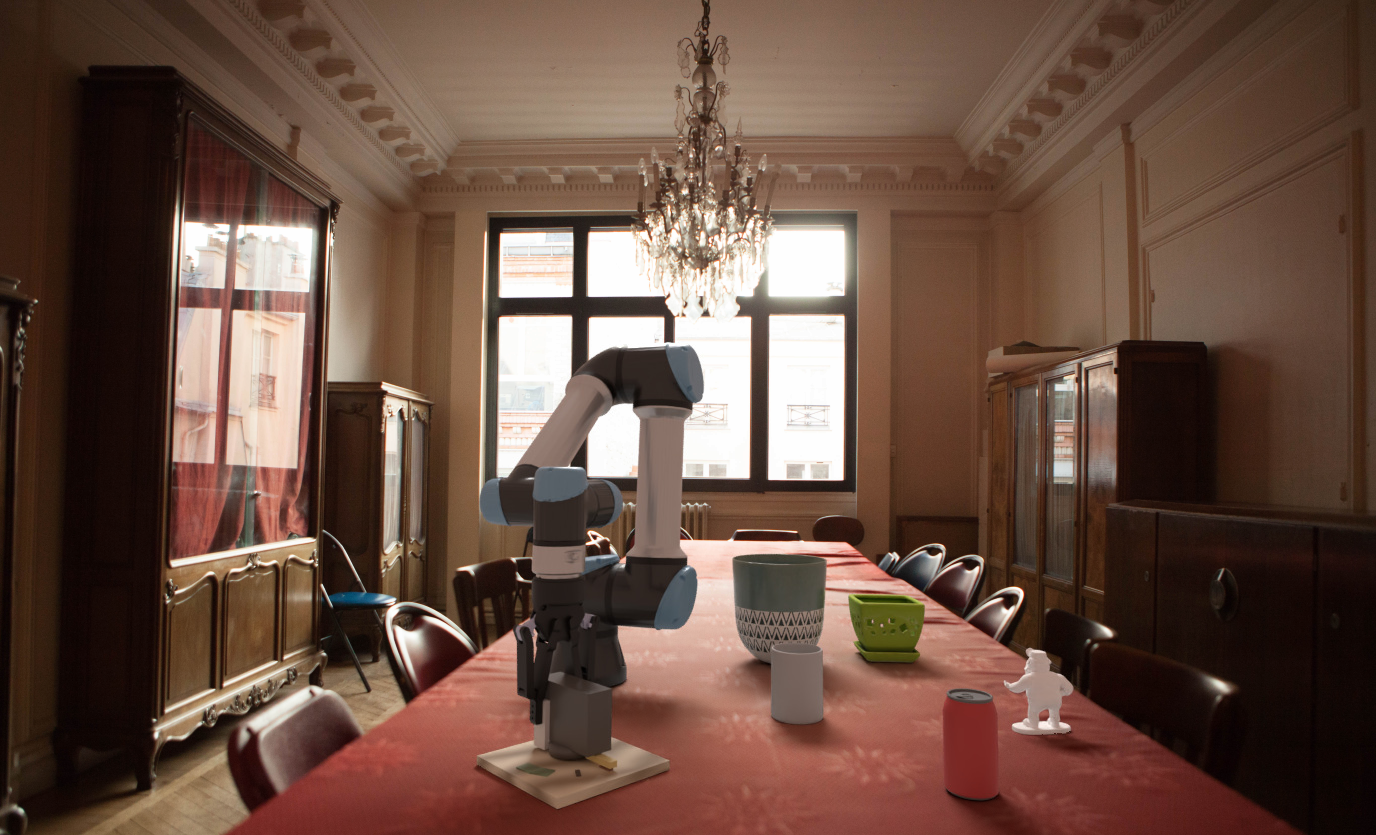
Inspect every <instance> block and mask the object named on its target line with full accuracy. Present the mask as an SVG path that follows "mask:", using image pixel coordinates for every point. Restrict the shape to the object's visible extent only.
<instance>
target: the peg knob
mask: <svg viewBox="0 0 1376 835" xmlns="http://www.w3.org/2000/svg"><path fill="white" fill-rule="evenodd" d="M545 699H547V700H550V728H549V754H550V755H551V756H552V757H555V758H558V759H566V760H573V759H581V758H586V759H589V760H591V761H593V762H595V763H598V764H600V765H602V766H604V767H606V768H609V769H611V768H614V767H617V760H615V759H613V758H611V757H608V756H606V755H604V754H602V753H603V752H606V751H610V750H611V737H612V726H613V725H612V724H613V723H612V721H613V688H611V687H605V686H602V685H599V684H596V683H593V682H590V681H587V680H584V679H581V678H578V677H575V676H572V675H569V674H566V673H563V672H557V673H552V674H549V679H548V684H547V690H546V695H545Z"/></svg>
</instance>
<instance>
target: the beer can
mask: <svg viewBox="0 0 1376 835" xmlns="http://www.w3.org/2000/svg"><path fill="white" fill-rule="evenodd" d="M998 716H999V715H998V710H997V707H996V704H995V702H994V696H993V695H992V694H990V693H989V692H987V691H983V690H980V689H975V688H974V689H973V688H966V687H965V688H964V687H963V688H960V687H959V688H952V689H948V690H947V691H946V698H945V700H944V703H943V707H942V753H943V754H942V756H943V757H942V761H943V762H942V764H943V765H942V766H943V768H942V769H943V773H942V774H943V786H944V788H945V789H946V790H947V792H949V793H951V794H952V795H953V796H956V797H959V798H960V799H965V800H971V801H988V800H991V799H994V798H995V797H996V796H998V795H999V793H1000V781H999V778H1000V776H999V770H1000V769H999V723H998V722H999V721H998V718H999V717H998Z"/></svg>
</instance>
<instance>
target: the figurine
mask: <svg viewBox="0 0 1376 835" xmlns="http://www.w3.org/2000/svg"><path fill="white" fill-rule="evenodd" d="M1025 653H1026V656H1027V657H1029V658H1028V659H1027V660H1026V663H1025V667H1023V669H1024V672H1025V673H1024V674H1023V675H1022V676H1021V677H1020V679H1018V681H1015V682H1012V683H1010V682H1008V681H1007V680H1003V684H1004V687H1005V688H1007V689H1008V690H1009V691H1010V692H1012V693H1016V694H1020V693H1023V692H1025V696H1026V697H1027V703H1028V707H1027V718H1024V719H1023V720H1022V721H1021V722H1015V723H1013V724H1012V725H1011V730H1012V731H1013V732H1015V733H1018V734H1021V735H1030V736H1031V735H1032V736H1035V735H1037V736H1038V735H1039V736H1041V735H1042V734H1043V735H1058V734H1057V733H1062V734H1067V733H1066V732H1069V731H1072V728H1071V725H1069V724H1068V723H1065V722H1061V718H1060V709H1061V707H1062V702H1063V700H1062V698H1063V697H1064V696H1065V697H1066V696H1067V697H1069V696H1070V695H1071V694H1072V693H1073V691H1074V686H1073V684H1072V683H1071V682H1070V681H1069V680H1068V679H1067V678H1066V676H1064V675H1062V674H1061V673H1056V672H1054V671H1051V670H1050V668H1051V666H1050V665H1051V664H1052V661H1051V660H1050V658H1049V657H1048V656H1047V652H1046V651H1045V650H1044V651H1043V650H1040V649H1033V648H1031V647H1029V648H1026V650H1025ZM1045 710H1048V712H1049V717H1048V718H1047V720H1046V721H1045V720H1042V721H1041V720H1040V716H1039V715H1040V713H1042V712H1043V711H1045ZM1054 733H1056V734H1054ZM1069 733H1070V732H1069Z"/></svg>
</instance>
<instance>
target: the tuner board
mask: <svg viewBox="0 0 1376 835" xmlns="http://www.w3.org/2000/svg"><path fill="white" fill-rule="evenodd" d="M602 754H604V755H606V756H608V757H611V758H613V759H615V760H617V767H614V768H611V769H609V768H606V767H604V766H602V765H600V764H598V763H595V762H593V761H591V760H589V759H586V758H581V759H573V760H566V759H558V758H555V757H552V756H551V755H550V754H549V749H546V750H543V749H541V748H539V747H537V746H535V745H534V739H533V740H529V741H526V742H523V743H518V744H514V745H510V746H508V747H504V748H500V749H496V750H492V751H489V752H485V753H482V754H478V755H476V766H478V765H479V767H480V766H481V767H480V768H482V769H484V770H485V769H486V770H485V771H487V772H489V773H491V774H493V775H494V776H496V777H498V778H500V779H502V780H504V781H505V782H508V783H510V784H511V785H513V786H515V787H516V788H518V789H519V790H522V791H524V792H525V793H527V794H529V795H531V796H533V797H534V798H536V799H538V800H540V801H542V802H544V803H545V804H547V805H549V806H551V807H552V808H554V809H556V810H558V809H561V808H565V807H567V806H571V805H573V804H575V803H579V802H581V801H584V800H587V799H591V798H593V797H596V796H598V795H601V794H604V793H605V794H606V793H607V792H611V791H613V790H615V789H619V788H621V787H624V786H627V785H630V784H632V783H635V782H639V781H641V780H644V779H647V778H650V777H652V776H656V775H658V774H661V773H664V772H667V771H669V770H670V765H671V764H670V762H671V760H669V759H667V758H664V757H662V756H659V755H657V754H654V753H652V752H650V751H647V750H644V749H642V748H639V747H637V746H635V745H633V744H630V743H627V742H625V741H623V740H620V739H618V738H615V737H612V736H611V750H610V751H606V752H603V753H602Z"/></svg>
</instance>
